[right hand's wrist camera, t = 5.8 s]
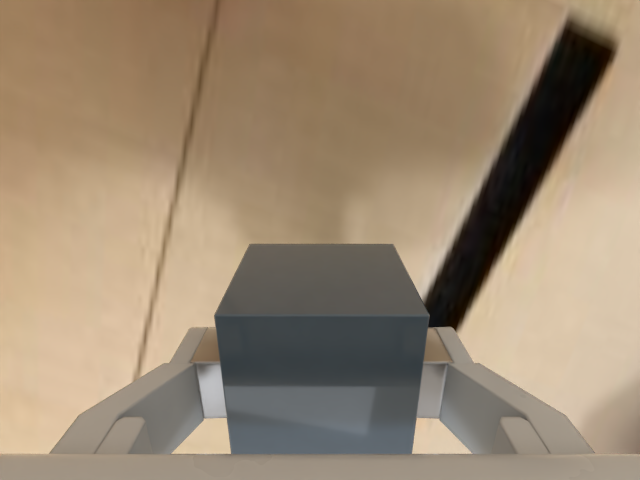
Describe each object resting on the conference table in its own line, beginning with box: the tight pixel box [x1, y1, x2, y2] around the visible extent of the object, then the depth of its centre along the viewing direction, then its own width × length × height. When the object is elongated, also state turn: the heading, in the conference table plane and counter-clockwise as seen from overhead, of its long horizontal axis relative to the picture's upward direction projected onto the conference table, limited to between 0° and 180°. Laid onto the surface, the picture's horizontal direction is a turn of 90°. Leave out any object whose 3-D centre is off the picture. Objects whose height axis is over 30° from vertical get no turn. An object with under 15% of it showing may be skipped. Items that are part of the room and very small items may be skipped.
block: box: [214, 244, 429, 454], centre depth 10 cm, size 5×5×4 cm
